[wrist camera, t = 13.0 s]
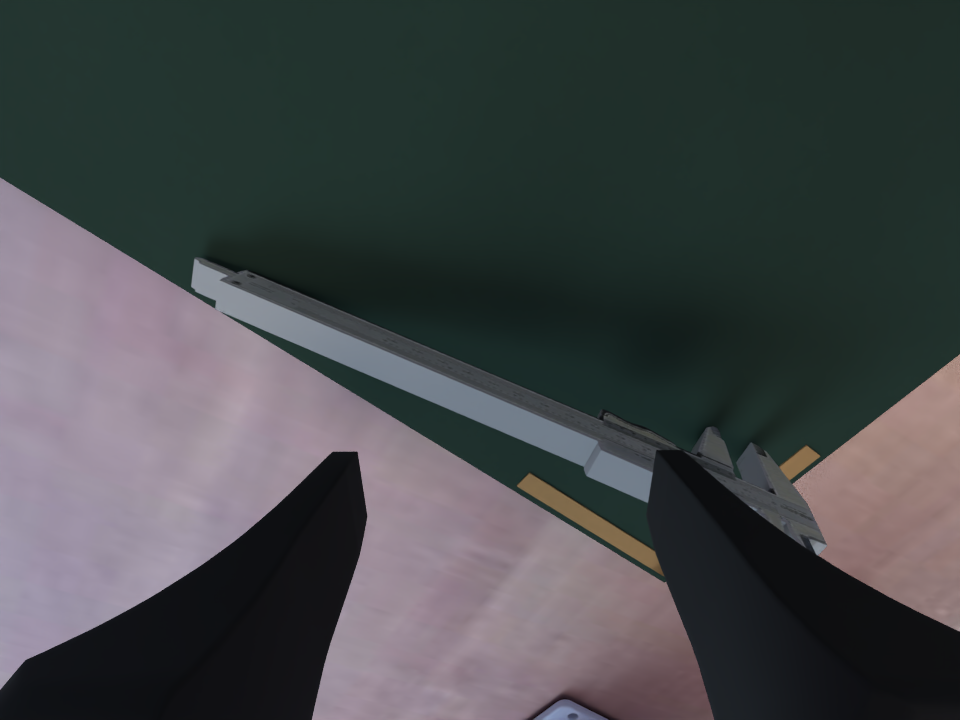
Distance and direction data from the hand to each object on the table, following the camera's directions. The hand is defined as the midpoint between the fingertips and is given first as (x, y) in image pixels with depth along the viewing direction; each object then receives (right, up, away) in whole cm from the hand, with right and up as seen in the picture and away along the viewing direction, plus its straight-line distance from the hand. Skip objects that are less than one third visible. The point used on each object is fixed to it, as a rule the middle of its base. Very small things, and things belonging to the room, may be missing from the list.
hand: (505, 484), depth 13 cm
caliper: (0, +3, +6) cm, 6 cm away
